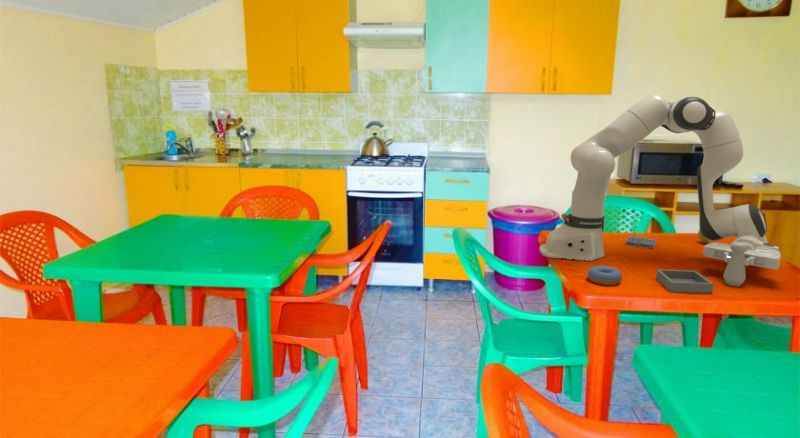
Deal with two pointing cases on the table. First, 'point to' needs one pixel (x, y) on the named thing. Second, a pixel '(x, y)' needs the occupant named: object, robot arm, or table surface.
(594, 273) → the doughnut
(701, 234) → the lemon
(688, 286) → the tray
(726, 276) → the salt shaker
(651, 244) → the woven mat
